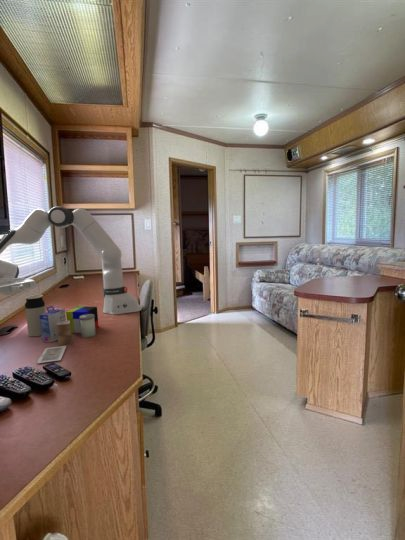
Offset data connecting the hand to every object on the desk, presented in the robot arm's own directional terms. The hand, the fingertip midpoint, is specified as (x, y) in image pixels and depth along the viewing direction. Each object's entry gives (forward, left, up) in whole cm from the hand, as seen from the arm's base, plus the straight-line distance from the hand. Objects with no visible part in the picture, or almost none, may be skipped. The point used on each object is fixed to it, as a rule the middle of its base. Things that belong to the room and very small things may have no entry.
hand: (20, 288), depth 149 cm
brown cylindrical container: (-24, +25, -21) cm, 41 cm away
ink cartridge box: (-18, +17, -21) cm, 33 cm away
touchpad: (-23, +38, -22) cm, 50 cm away
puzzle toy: (-28, +7, -21) cm, 36 cm away
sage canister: (-32, +17, -21) cm, 42 cm away
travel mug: (-8, +8, -21) cm, 24 cm away
